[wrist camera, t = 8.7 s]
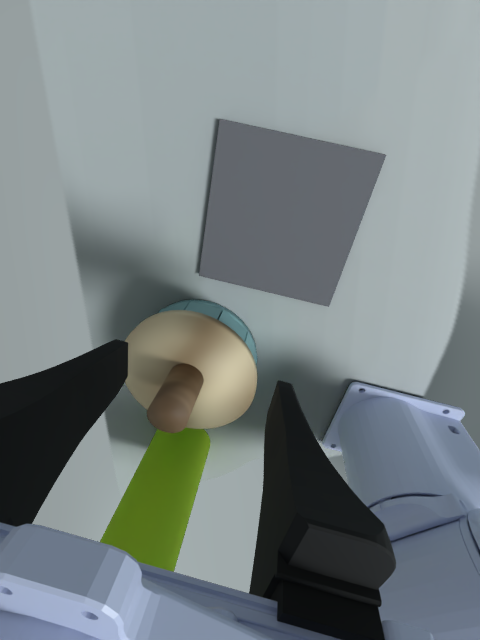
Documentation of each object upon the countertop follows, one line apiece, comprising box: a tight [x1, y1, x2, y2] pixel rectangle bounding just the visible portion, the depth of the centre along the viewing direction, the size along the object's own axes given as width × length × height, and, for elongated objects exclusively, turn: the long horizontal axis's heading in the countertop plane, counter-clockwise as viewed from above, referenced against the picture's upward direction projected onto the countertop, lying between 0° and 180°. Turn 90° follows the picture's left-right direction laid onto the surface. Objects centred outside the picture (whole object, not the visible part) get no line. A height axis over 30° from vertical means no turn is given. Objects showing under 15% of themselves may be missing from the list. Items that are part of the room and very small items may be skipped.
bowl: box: [158, 299, 258, 365], centre depth 24 cm, size 10×10×4 cm
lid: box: [125, 310, 257, 433], centre depth 20 cm, size 10×10×5 cm
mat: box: [199, 119, 386, 307], centre depth 20 cm, size 10×10×1 cm
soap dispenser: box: [100, 427, 210, 572], centre depth 23 cm, size 6×7×20 cm
